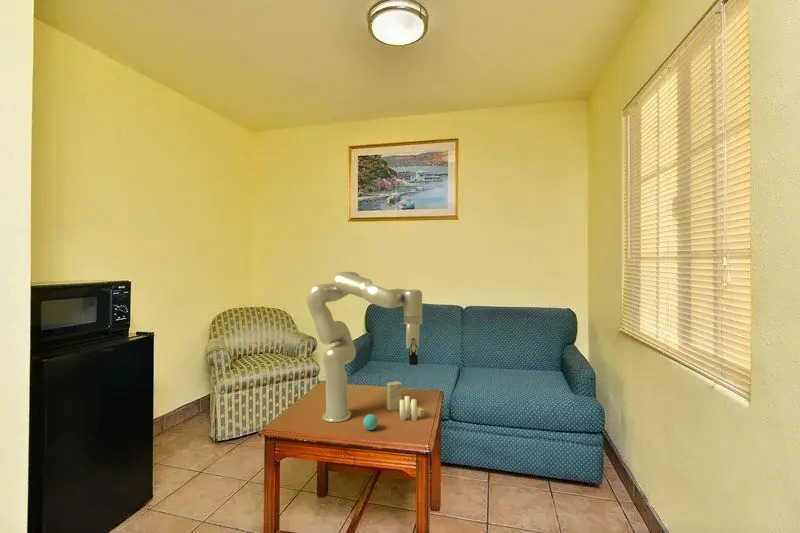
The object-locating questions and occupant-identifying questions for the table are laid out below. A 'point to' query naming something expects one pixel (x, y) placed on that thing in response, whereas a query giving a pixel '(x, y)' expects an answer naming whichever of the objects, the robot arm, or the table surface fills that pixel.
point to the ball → (370, 422)
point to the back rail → (419, 411)
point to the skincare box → (394, 395)
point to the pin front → (402, 410)
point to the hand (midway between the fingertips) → (413, 361)
